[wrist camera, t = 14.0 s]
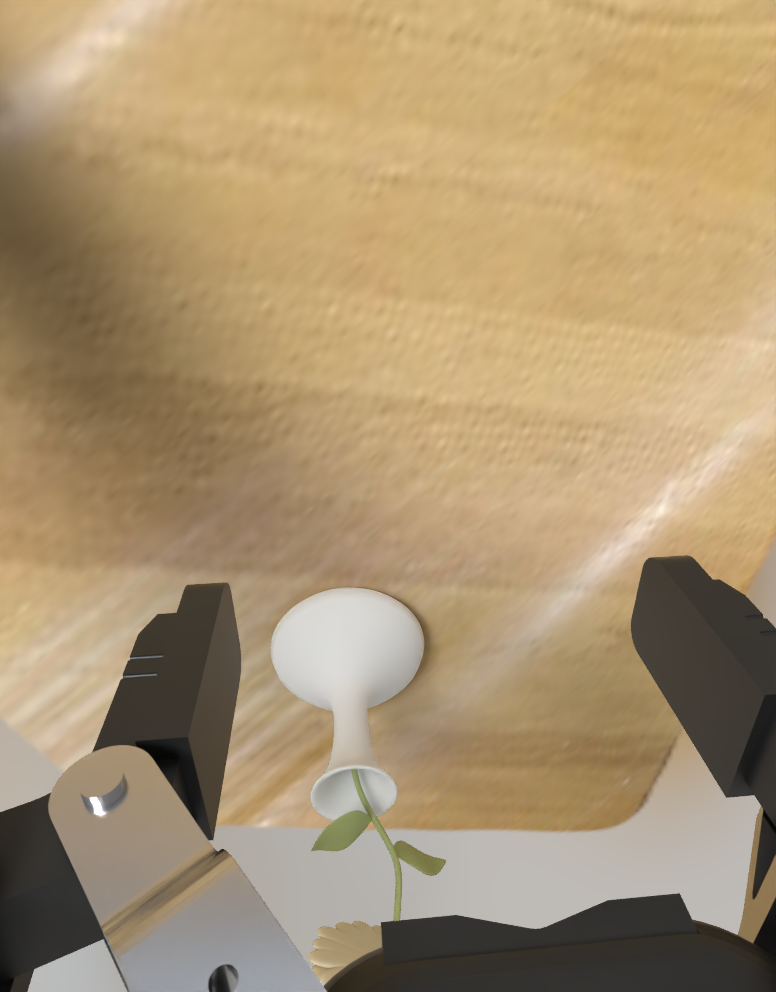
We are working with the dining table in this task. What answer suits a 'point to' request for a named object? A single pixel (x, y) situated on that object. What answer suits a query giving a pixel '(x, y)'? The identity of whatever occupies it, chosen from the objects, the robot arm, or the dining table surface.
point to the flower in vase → (351, 729)
